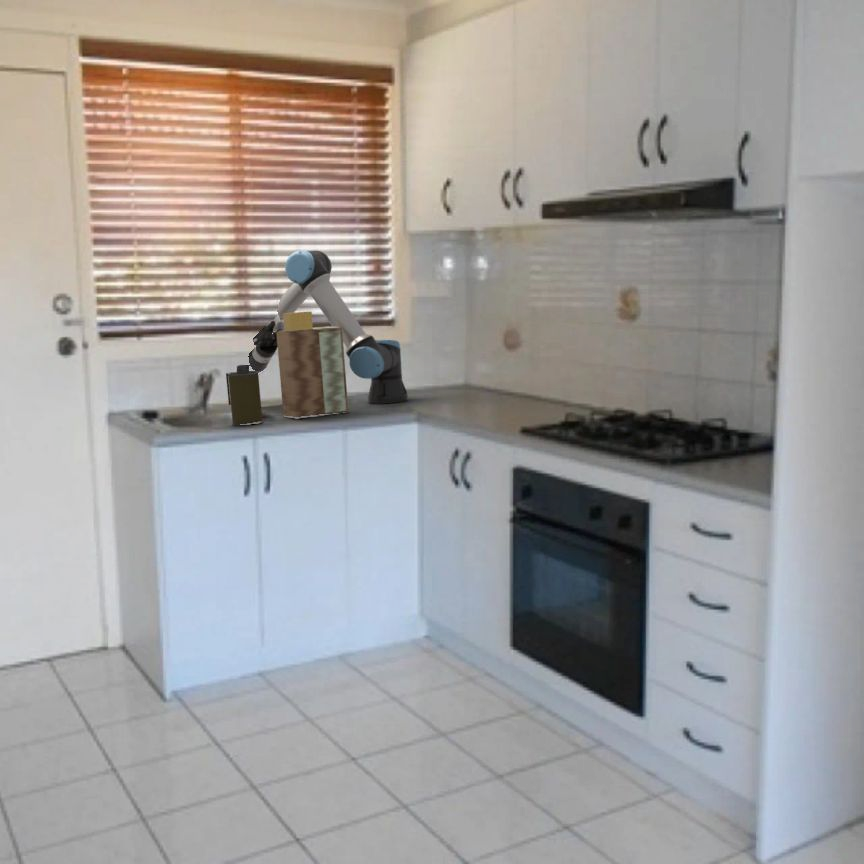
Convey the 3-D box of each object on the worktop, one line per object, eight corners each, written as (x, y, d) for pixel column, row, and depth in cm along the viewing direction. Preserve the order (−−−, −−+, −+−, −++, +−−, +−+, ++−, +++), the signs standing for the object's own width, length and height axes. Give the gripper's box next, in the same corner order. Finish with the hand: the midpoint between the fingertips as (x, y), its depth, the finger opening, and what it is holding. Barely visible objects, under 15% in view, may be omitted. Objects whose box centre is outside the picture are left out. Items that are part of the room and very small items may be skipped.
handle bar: (285, 328, 367) (284, 311, 367) (312, 329, 347) (311, 311, 346) (265, 330, 363) (263, 313, 363) (291, 331, 343) (289, 313, 342)
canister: (266, 420, 350) (261, 362, 347) (258, 425, 340) (253, 365, 337) (235, 422, 351) (230, 364, 348) (227, 426, 341) (221, 367, 338)
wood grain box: (335, 410, 366) (328, 326, 362) (348, 413, 357) (342, 326, 352) (283, 417, 356) (276, 330, 352) (296, 420, 347) (288, 331, 342)
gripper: (287, 356, 380) (307, 325, 361) (247, 360, 372) (264, 328, 353) (282, 338, 382) (301, 306, 363) (242, 342, 374) (259, 309, 355)
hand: (283, 317), depth 358 cm, fingers closed on handle bar, 3 cm apart
